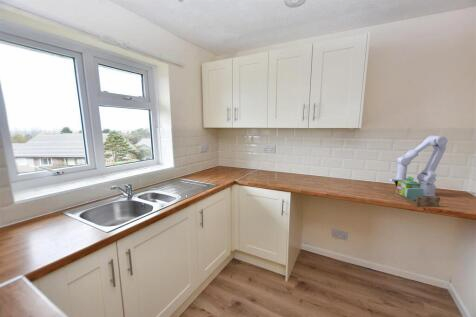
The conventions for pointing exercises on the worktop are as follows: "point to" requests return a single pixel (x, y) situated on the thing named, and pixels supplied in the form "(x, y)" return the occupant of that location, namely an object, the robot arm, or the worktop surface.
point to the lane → (421, 200)
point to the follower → (413, 193)
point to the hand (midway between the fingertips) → (398, 190)
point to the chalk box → (406, 185)
